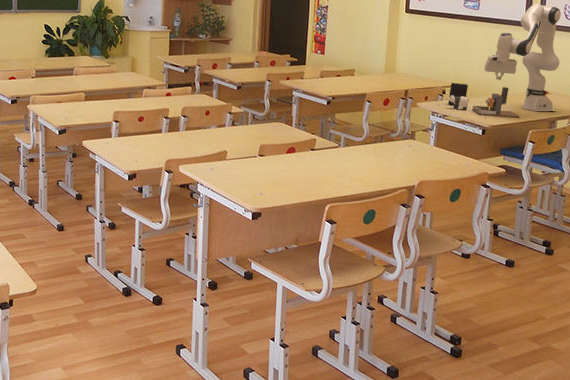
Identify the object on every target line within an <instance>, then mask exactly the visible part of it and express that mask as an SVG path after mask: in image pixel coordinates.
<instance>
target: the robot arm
mask: <svg viewBox="0 0 570 380" xmlns="http://www.w3.org/2000/svg"><path fill="white" fill-rule="evenodd" d="M560 10H561V9H559V8H558V7H557V6H549V5H541V4H540V3H534V4H532V5H531V6H529V8H528V9H527V10H526V11H525V12H524V14H523V15H522V17H521V19H520V24H521V26H522V28H523V29H524V30H525V31H527V32H528V33H527V35H526V37H525V39H518V38H514V37H513V34H512V33H509V32H502V33H500V34H499V35H498V36H499V37H498V40H497V45H496V48H497V50H496V52H495V54H492V55H488V56H487V60H486V62H485V65H484V71H485V72H487V73H488V72H489V73H494V74H495V77H496V80H502V78H503V76H504V75H505V74H512V75H515V74H516V73H517V65H518V61H517V60H516V59H512V58H510V57H511V54H513V55H518V56H521V57H522V63H523V65H524V67H525V68H526V70H527V73H528V85H527V88H526V91H525V98H524V102H523V104H522V107H521V108H522V109H524V110H528V111H533V112H537V111H553V109H554V108H553V107H554V106H553V101H551V100H550V98H549V97H548V96H547V95H549V94H550V93H549V91H548V90H545V87H546V77H545V76H544V75H542V73H541V71H547V72H553V71H556V70H557V69H558V68H559V66H560V58H559V57H558V56H557V55H556V53H555V50H554V41H555V36H556V35H555V34H556V29H557V23H558V22H559V20H560V18H561V15H562V14H561V11H560ZM539 23H540V24H539ZM535 40H536V45H537V47H538V48H540V50H541V52H535V51H531V50H532V46H533V44H534V41H535ZM499 74H500V75H499Z"/></svg>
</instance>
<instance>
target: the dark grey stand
mask: <svg viewBox="0 0 570 380" xmlns="http://www.w3.org/2000/svg"><path fill="white" fill-rule="evenodd" d="M491 98H492V99H494V100H495V102H494V104H493V107H489V106H487V105H486V106H483V105H473V106H472V109H471V110H472V112H474V113H476V114H477V115H479V116H485V117H486V116H487V117H500V118H501V117H502V118H514V119H515V118H517V119H520V116H519V115H518V114H517V113H515V112H513V111H512V110H509V111H508V110H502V107H503V106H502V105H503V104H502V100H503V96H501V94H499V93H492V94H491Z"/></svg>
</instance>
